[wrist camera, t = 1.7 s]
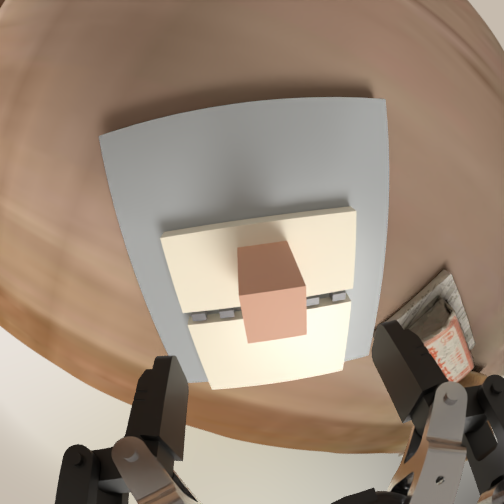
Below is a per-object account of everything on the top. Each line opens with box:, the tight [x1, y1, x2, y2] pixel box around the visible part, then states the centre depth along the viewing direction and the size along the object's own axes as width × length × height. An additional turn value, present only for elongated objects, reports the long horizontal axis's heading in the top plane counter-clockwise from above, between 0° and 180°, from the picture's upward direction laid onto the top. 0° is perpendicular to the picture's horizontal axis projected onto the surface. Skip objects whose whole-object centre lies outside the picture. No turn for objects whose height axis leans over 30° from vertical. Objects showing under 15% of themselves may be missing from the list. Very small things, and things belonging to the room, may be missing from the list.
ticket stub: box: [160, 206, 357, 343], centre depth 15 cm, size 12×6×6 cm, turn 97°
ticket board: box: [99, 97, 389, 390], centre depth 19 cm, size 18×22×2 cm
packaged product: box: [373, 270, 475, 382], centre depth 24 cm, size 18×5×10 cm
